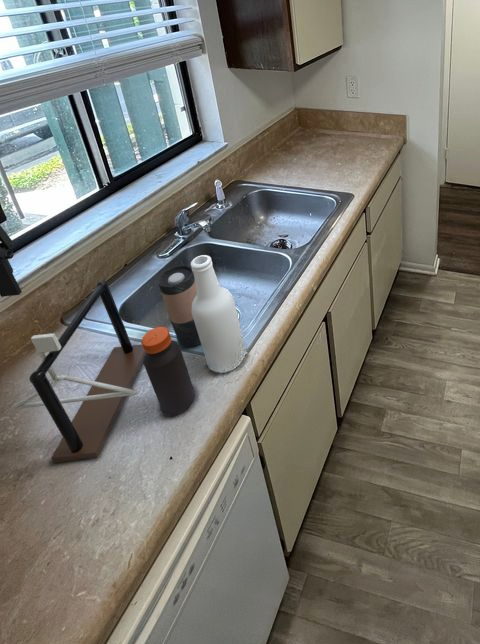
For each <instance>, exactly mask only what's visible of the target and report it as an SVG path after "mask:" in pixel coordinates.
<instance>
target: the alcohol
mask: <svg viewBox="0 0 480 644" xmlns="http://www.w3.org/2000/svg"><path fill="white" fill-rule="evenodd" d="M190 266H191V269H192V271H193V274H194V278H195V283H196V289H197V295H196V297H195V298H194V300H193V302H192V315H193V319H194V322H195V325H196V329H197V332H198V335H199V338H200V342H201V344H200V345H201V348H202V351H203V355H204V358H205V361H206V364H207V367H208V369H209V370H211V371H213V372H215V373H220V374H223V373H228V372H231V371H233V370H235V369H237V368H238V367H239V366H240V365H241V364H242V362H243V361H244V359H245V357H246V353H247V350H246V349H247V347H246V345H245V340H244V336H243V332H242V328H241V323H240V321H239V316H238V315H239V314H238V312H237V307H236V303H235V299H234V296H233V295H232V293H231V292H230V290H229V289H228V288H226V287H223V286H221V284H220V283H219V280H218V277H217V274H216V271H215V268H214V267H213V261H212V257H211V256H210V255H207V254H201V255H198V256H196V257H195V258H193V259H192V260H191V262H190Z"/></svg>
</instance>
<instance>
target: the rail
mask: <svg viewBox="0 0 480 644" xmlns="http://www.w3.org/2000/svg"><path fill="white" fill-rule="evenodd" d="M99 298H100V299H101V301H102V304H103V306H104V309H105V311H106V314H107V316H108V318H109V321H110V323H111V325H112V328H113V330H114V332H115V335H116V337H117V339H118V342H119V344H120V345H119V346H115V347H113V348H112V350H111V352H110V354H109V356H108V357H107V358H106V361H105V362H104V364H103V366H102V368H101V369H100V370H99V371H100V372H99V373H98V375H97V376H96V378H95V380H94V381H95V382H100V383H104V384H109V385H114V386H118V387H123V388H128V389H132V386H133V384H134V382H135V380H136V378H137V375H138V373H139V372H140V369H141V367H142V365H143V358H144V356H145V353H146V352H145V350H144V348H143V345H142V343H141V344H132V342H131V340H130V337H129V334H128V332H127V329H126V327H125V325H124V321H123V320H122V317H121V314H120V312H119V309H118V307H117V304H116V301H115V299H114V297H113V294H112V292H111V289H110V287H109V282H107V281H106V280H100V281H98V282H97V283H96V284H95V288H94V290H93V291H92V292H91V293H90V295H89V297H88V298H87V299H86V300H85V302H84V303H83V305H82V306H81V307H80V309H79V310H78V311H77V313H76V314H75V316H74V317H73V319H72V320H71V321H70V322H69V325H67V327H66V328H65V330H64V331H63V333H62V334H61V335H60V336H59V338H58V341H59V343H60V345H61V349H60V350H59V351H51V352H47V353H48V354H46V358H45V359H44V360H43V361H42V362H41V363H40V364H39V366H38V368H37V369H36V370H34V371H33V372H32V373H31V374H30V375H29V379H28V380H29V383H31V384H32V386H33V388H34V389H35V392H37V393H38V396H39V398H40V400H41V401H42V402H43V403H44V405H45V406H44V407H45V409H46V411H47V412H48V414H49V415H50V418H51V420H52V421H53V423H54V425H55V426H56V428H57V429H58V431H59V433H60V434H61V436H62V438H61V440H60V441H59V443H58V445H57V447H56V448H55V450H54V451H53V453H52V456H51V457H50V460H51V461H52V463H53V464H56V463H65V462H71V461H79V460H85V459H93V458H94V459H95V458H98V457H99V455H100V454H101V451H102V448H103V446H104V445H105V443H106V441H107V438H108V436H109V435H110V432H111V430H112V428H113V425H114V423H115V422H116V420H117V418H118V415H119V413H120V411H121V409H122V407H123V405H124V403H125V401H126V398H127V396H120V397H112V398H104V399H95V400H87V401H82V403H81V404H80V407H79V408H78V410H77V411H76V413H75V415H74V417H73V418H72V420H71V418H70V417H69V415H68V413H67V412H66V411H67V410H66V409H65V407H64V406H63V403H62V404H61V402H60V400H59V399H60V398H59V397H58V394H57V393H56V391H55V390H54V389H55V388H53V387H52V386H51V384H50V383H51V382H50V380H49V378H48V377H47V373H48V370H49V368H50V367H51V365H52V366H53V364H54V363H55V362H56V360H57V358H58V357H59V355H60V354H61V353H62V351H63V350H64V348H65V347H66V346H67V344H68V342H69V341H70V339H71V338H72V337H73V336H74V334H75V332H76V331H77V330H78V328H79V327H80V325H81V324H82V322H83V321H84V319H85V318H86V317H87V315H88V313H89V312H90V311H91V309H92V308H93V306H94V305H95V304H96V302H97V301H98V299H99ZM117 392H119V391H114V390H109V389H105V388H100V387H95V386H90V389H89V390H88V392H87V393H86V396H91V395H100V394H108V393H117Z"/></svg>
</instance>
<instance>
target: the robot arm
mask: <svg viewBox="0 0 480 644" xmlns="http://www.w3.org/2000/svg"><path fill="white" fill-rule="evenodd" d="M14 247H15V243H14V241H13V240H12V239H11V237H10V236H9V235H8V233H7V232H6V231H5V229H4V228H3V227H2V226H1V224H0V297H2V298H3V297H11V296H12V297H13V296H19V295H21V294H22V293H23V291H22V289H21V287H20V284H19V283H18V281H17V279H16V278H15V276H14V268H13V266H12V265H11V263H10V261H9V260H11V259H13V257H14V256H15V255H14V251H10V250H13V249H14Z"/></svg>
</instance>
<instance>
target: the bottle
mask: <svg viewBox="0 0 480 644" xmlns="http://www.w3.org/2000/svg"><path fill="white" fill-rule="evenodd" d="M140 342H141V344H142V345H143V348H144V350H145V352H146V353H145V356H144V358H143V363H142V365H143V366H144V368H145V371H146V373H147V376H148V379H149V381H150V385H151V387H152V389H153V392H154V394H155V397H156V400H157V401H158V404H159V407H160V409H161V412H162V413H164V414H165V415H166V416H178V415H179V414H182V413H184V412H185V411H187V410H188V409H189V408H190V407H191V406H192V404H193V403H194V402H195V399H196V391H195V388H194V384H193V382H192V380H191V376H190V372H189V369H188V367H187V364H186V361H185V358H184V355H183V352H182V349H181V345H180V344H179V342H177V341H175V340H172V336H171V333H170V330H169V328H167V327H166V326H157V327H154V328H152V329H150V330H148V331H147V332H145V334H144V335H143V336H142V338H141V341H140Z"/></svg>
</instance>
